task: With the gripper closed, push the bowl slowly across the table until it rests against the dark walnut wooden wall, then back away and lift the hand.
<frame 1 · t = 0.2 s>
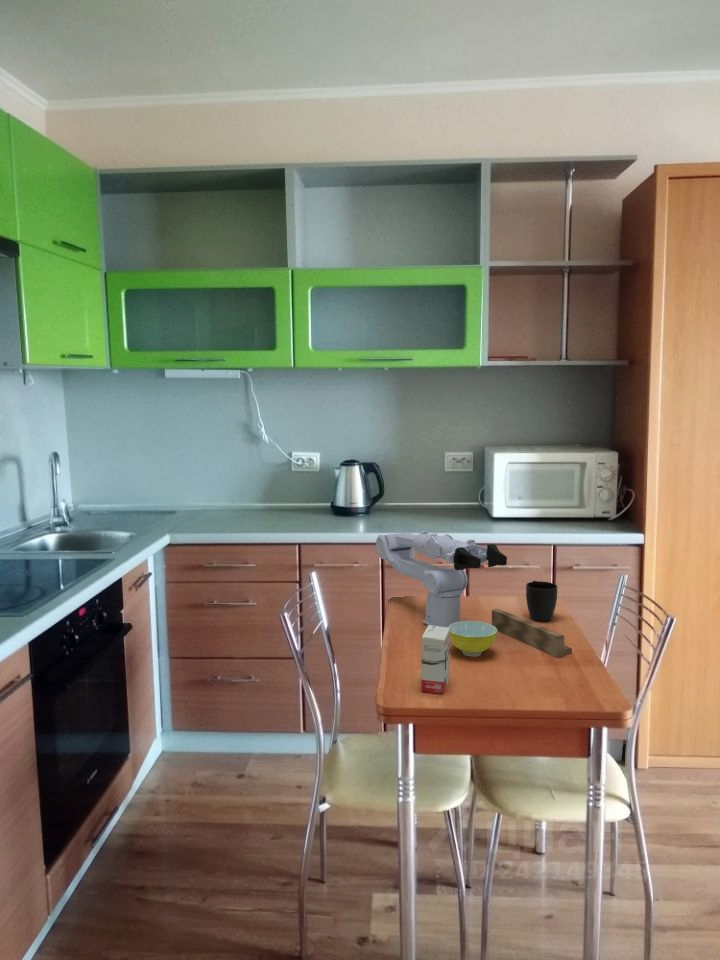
hand: (492, 562, 165), 22 cm above the table, tool horizontal, fingers open, 7 cm apart
bowl: (472, 654, 165), on the table
ink box: (435, 686, 147), on the table
walnut wall: (525, 641, 173), on the table
mug: (539, 617, 192), on the table
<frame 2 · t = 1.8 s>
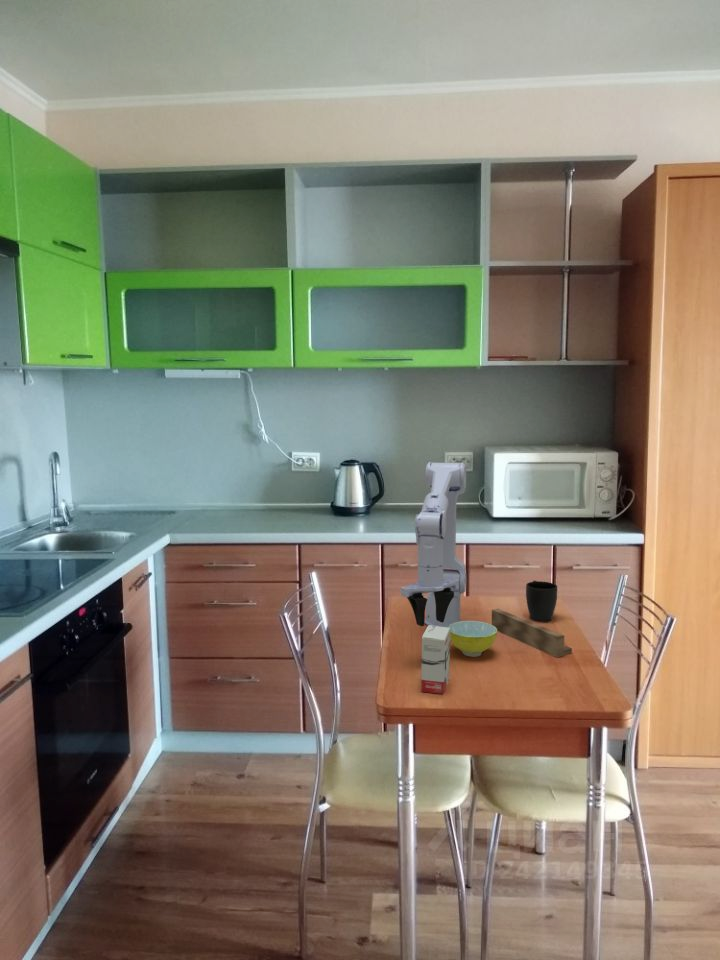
hand: (430, 623, 158), 9 cm above the table, tool pointing down, fingers open, 5 cm apart
nothing on the table moved.
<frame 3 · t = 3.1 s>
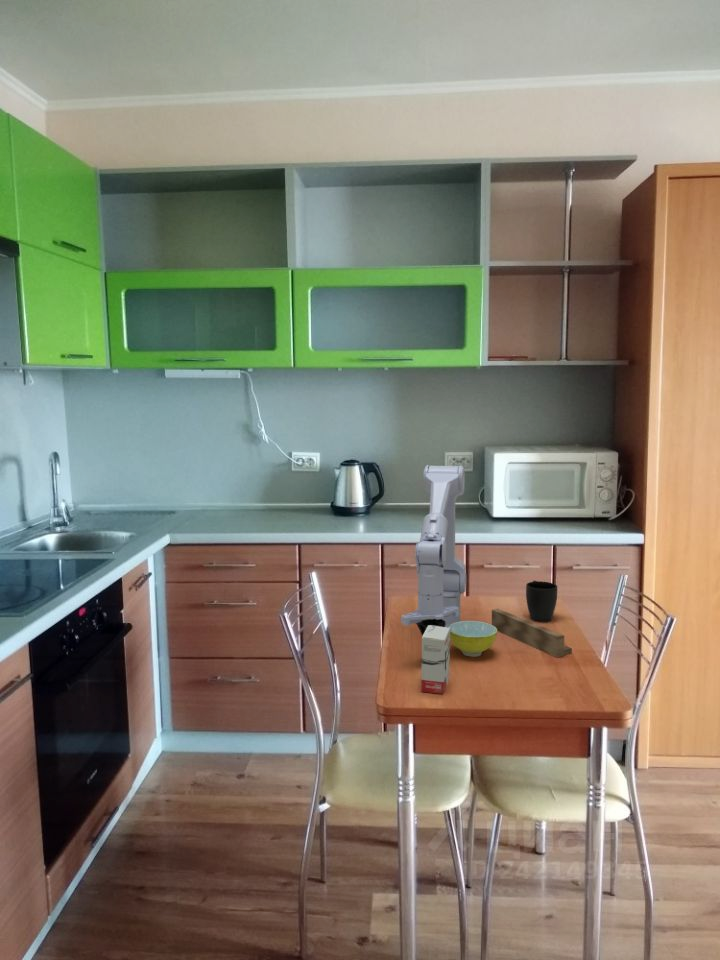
hand: (430, 650, 159), 3 cm above the table, tool pointing down, fingers closed
nothing on the table moved.
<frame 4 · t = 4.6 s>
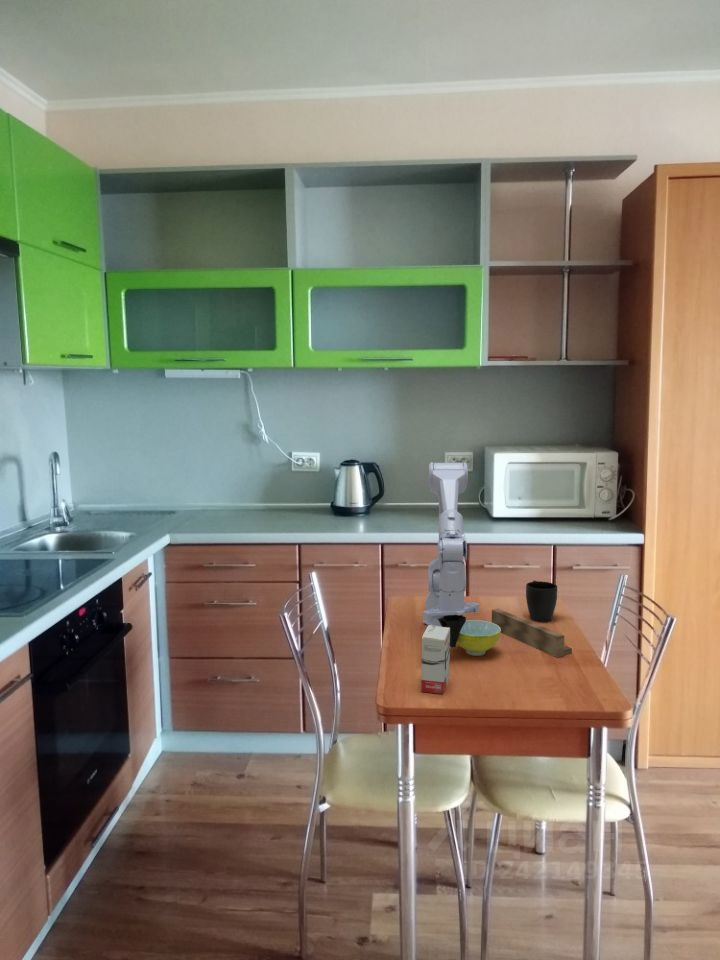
hand: (451, 645, 162), 3 cm above the table, tool pointing down, fingers closed
bowl: (475, 653, 166), on the table, touching gripper
everything else where it was.
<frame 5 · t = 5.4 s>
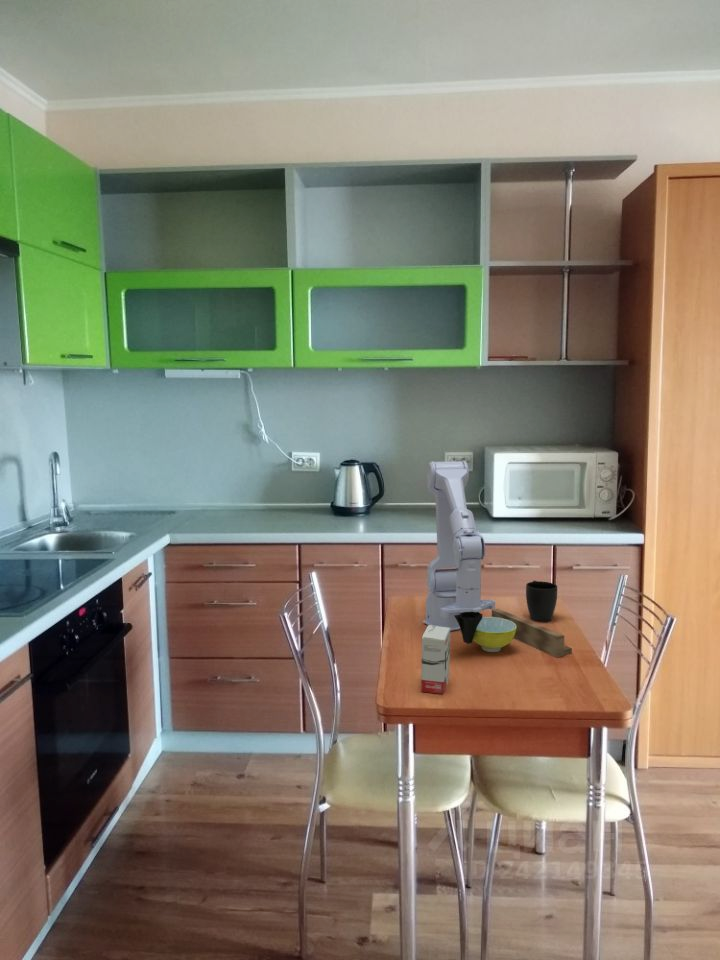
hand: (467, 642, 164), 3 cm above the table, tool pointing down, fingers closed
bowl: (491, 649, 168), on the table, touching gripper
everything else where it was.
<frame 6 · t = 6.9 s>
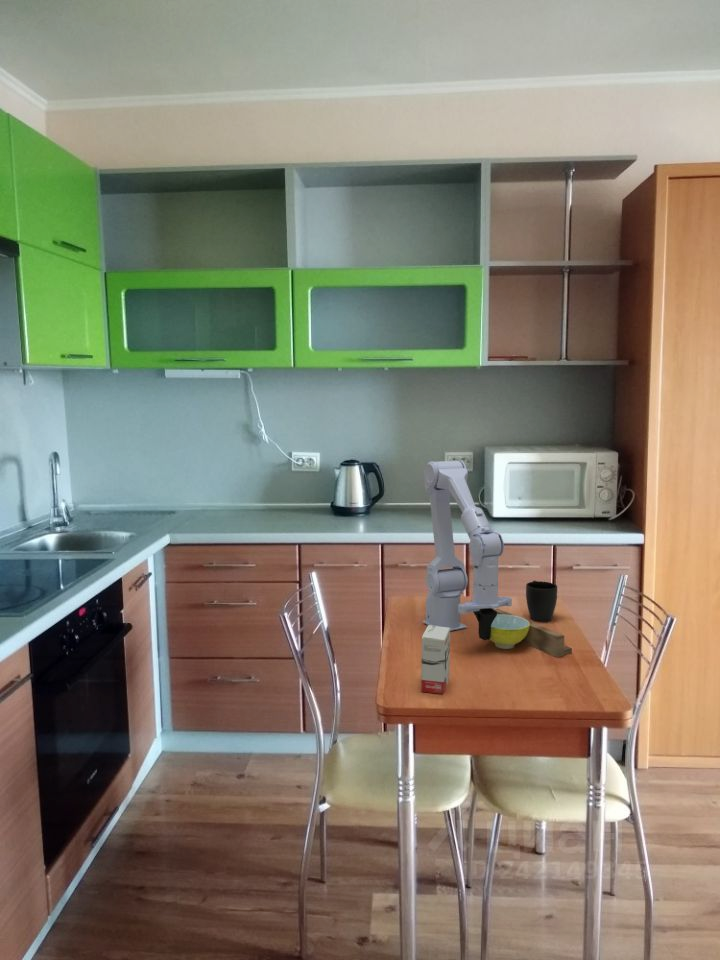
hand: (484, 638, 166), 3 cm above the table, tool pointing down, fingers closed, pressing on bowl
bowl: (504, 646, 170), on the table, touching gripper, walnut wall
everything else where it was.
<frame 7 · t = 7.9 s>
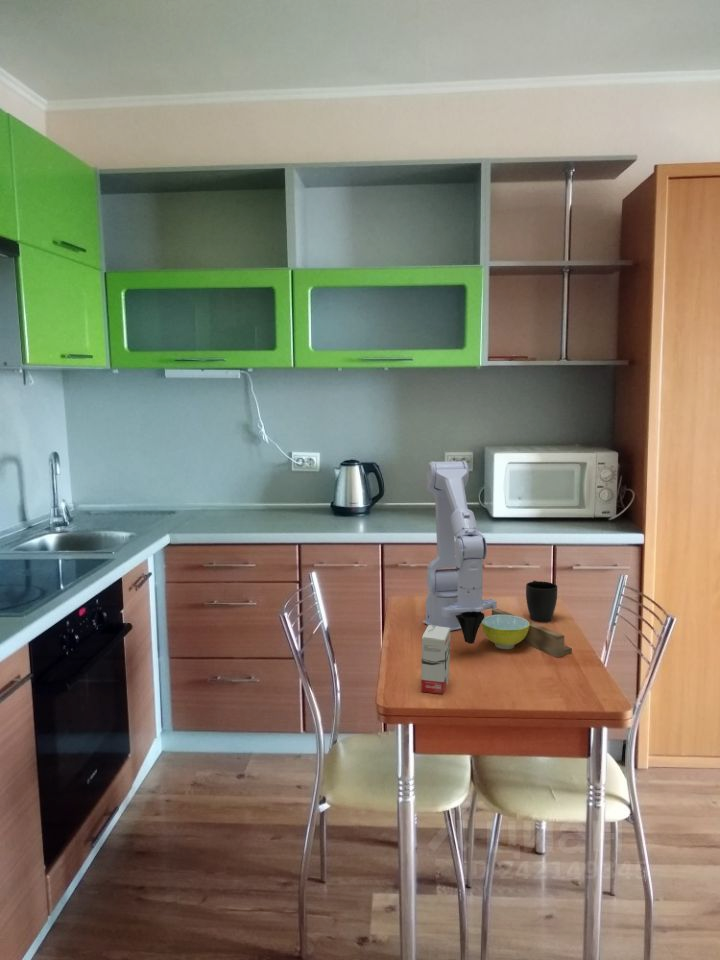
hand: (469, 642, 164), 3 cm above the table, tool pointing down, fingers closed
bowl: (504, 647, 170), on the table
everything else where it was.
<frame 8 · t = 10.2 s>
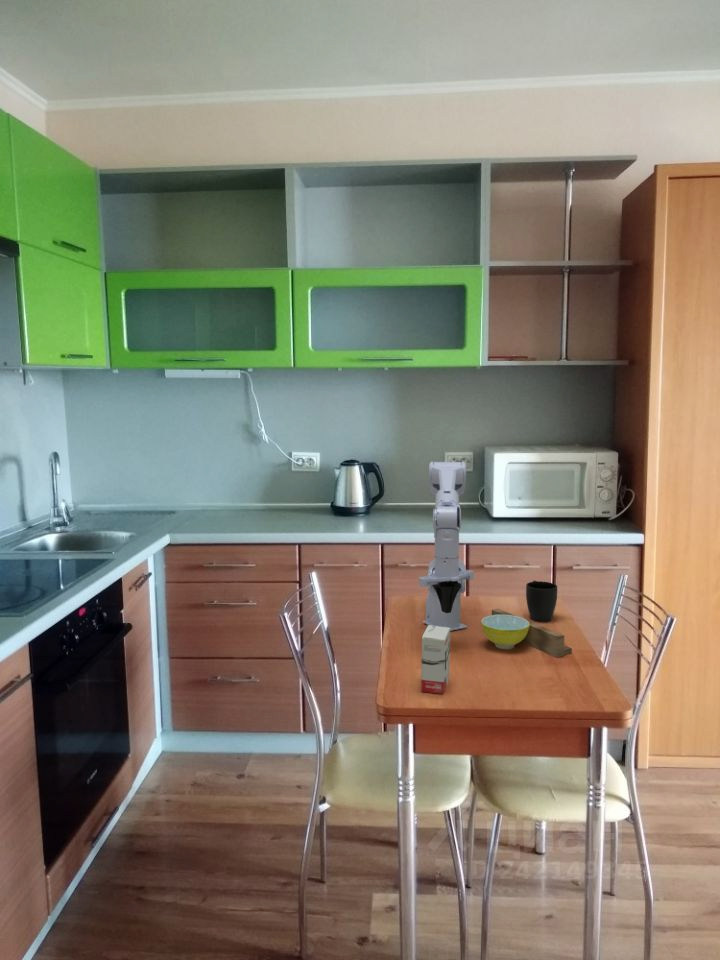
hand: (446, 611, 166), 9 cm above the table, tool pointing down, fingers closed
nothing on the table moved.
at the end: bowl inside the target area (0.1 cm from its centre), on the table; bowl tilted 0°; bowl moved 9.9 cm from its start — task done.
